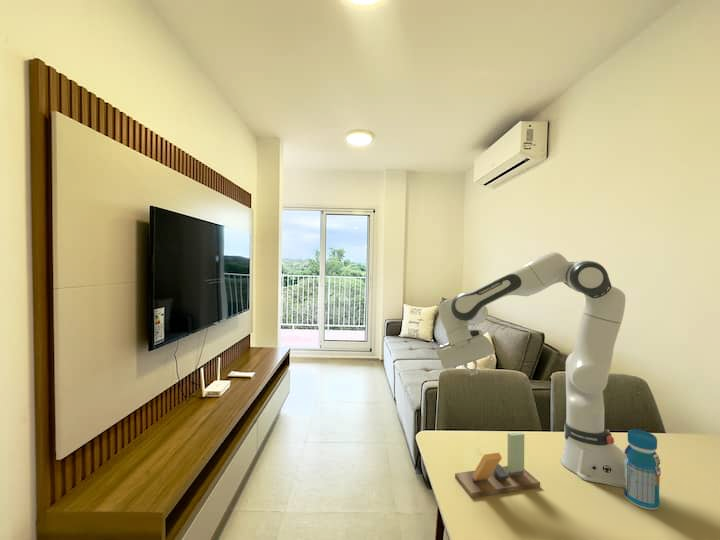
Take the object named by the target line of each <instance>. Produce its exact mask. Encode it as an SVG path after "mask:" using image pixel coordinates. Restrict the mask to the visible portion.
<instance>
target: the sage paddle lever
mask: <svg viewBox="0 0 720 540" xmlns="http://www.w3.org/2000/svg"><path fill="white" fill-rule="evenodd" d="M524 469H525V434H524V432H522V431H516V432H507V470H508V475H509V476H511V475H517V474H524Z"/></svg>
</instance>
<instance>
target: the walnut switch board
mask: <svg viewBox="0 0 720 540" xmlns="http://www.w3.org/2000/svg"><path fill="white" fill-rule="evenodd" d="M507 466H508V465H507ZM507 466H506V465H505V466H501V467H502V468H503V469H504V470H505V472H506V473H507V474H508V470H507ZM474 471H475V470H468V471H463V472H455V473H454V478H455V480H456V481H457V482H458V483H459V485H460V486H461V487H462V488H463V490H464V491H465V492H466V494H467V495H468V496H469V497H470V498H471V499H472V498H480V497H486V496H492V495H498V494H506V493H511V492H512V493H513V492H518V491H524V490H530V489H536V488H540V487H541V482H540V481H539V480H538V479H536V478H535V477H534V476H533V474H531V473H530V472H529V471H527V470H526V469H525V468H524V474H517V475H511V476H509V478H508V479H501V480H500V479H499V478H495V477H494V475H493V473H492V474H491V476H490V477H489V478H488V479H483V480H476V481H472V477H473V473H474Z"/></svg>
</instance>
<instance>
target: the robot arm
mask: <svg viewBox="0 0 720 540" xmlns="http://www.w3.org/2000/svg"><path fill="white" fill-rule="evenodd" d="M559 283H563V284H565V285H566V286H567V287H568V288H570V289H572V290H574V291H576V292H577V293H581V294H584V296H585V305H584V308H583V311H582V314H581V318H580V321H579V324H578V327H577V331H576V334H575V341H574V346H573V350H572V352H571V353H570V354H568V355H567V357H566V360H565V395H566V396H565V397H566V398H565V399H566V400H565V401H566V404H565V405H566V406H565V407H566V420H565V422H564V430H563V431H564V433H563V434H564V439H565V440H564V446H563V452H562V453H561V458H560V463H561V464H562V465H563V466H564V467H565V468H566V469H568V470H569V471H571V472H573V473H574V474H575V475H577V476H578V477H579V478H580V479H582V480H584V481H587V482H594V483H597V484H603V485H608V486H614V487H617V488H623V489H625V465H624V458H625V457H626V456H625V453H624V452H625V450H623V449H621V448H620V447H618V446H617V444H615V439H614V437H613V436H612V433H611V432H610V429H606V428H605V403H604V402H605V401H604V400H605V399H604V390H605V389H607V388H606V387H607V385H608V380H609V375H610V371H611V366H612V360H613V356H614V349H615V344H616V341H617V338H618V335H619V331H620V329H621V325H622V322H623V318H624V315H625V314H624V313H625V309H626V295H625V293H624V291H622V290H621V289H620V288H618V287H616V286H612V283H611V280H610V278H609V274H608V271H607V270H606V268H605V267H604V266H603V265H602V264H600V263H599V262H596V261H592V260H579V261H568V260H567V259H566V257H565V256H564V255H562V254H561V253H558V252H556V251H552V252H548V253H545V254H543V255H540V256H538V257H536V258H534V259H531V261H529V262H527V263H525V264H524V265H522V266H520V267H519V268H516V269H515V270H514V271H512V272H510V273H507V274H506V275H504V276H501V277H499V278H497V279H495V280H493V281H492V282H490V283H488V284H486V285H484V286H482V287H480V288H478V289H475V290H473V291H469V292H468V291H467V292H462V293H461V292H460V293H459V294H457V295H456V296H454V298H448V299H446V300H444V301H442V302H440V305H438V309H437V310H438V313H439V314H438V315H439V317H440V321H441V324H442V326H443V328H444V330H445V332H446V333H445V334H446V337H447V339H448V343H444V344H442V345H439V346H438V348H437V349H436V354H437V357H438V358H440V363H441V365H442V368H443V370H445V371H447V370H448V371H449V370H452V369H454V368H457V367H460V366H463V368H464V369H466V370H467V371H468V373H469V374H470V376H473V375H477V374H479V371H478V369H477V368H478V360H482V359H485V358H488V357H491V356H494V355H495V353H496V351H495V348H494V346H493V345H492V343H491V341H490V340H489V338H488V337H487V336H486V335H484V331H482V330H481V329H469V326H474V325H478V324H482V323H483V322H484V321H485V320H486V319H487V317H488V314H489V313H488V308H487V306H489V304H491V303H493V302H495V301H497V300H499V299H502V298H504V297H507V296H521V297H529V296H530V297H531V296H533V295H536V294H538V293H539V292H540V293H541V292H542V291H544V290H545V289H547V288H549V287H551V286H553V285H556V284H559ZM469 363H473V365H474V368H471V369H470V368H469V367H468V366H469V365H468V364H469Z"/></svg>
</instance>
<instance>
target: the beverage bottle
mask: <svg viewBox="0 0 720 540" xmlns="http://www.w3.org/2000/svg"><path fill="white" fill-rule="evenodd" d="M627 442H628V445H627V446H626V447H625V450H624V453H625V456H626V457H625V458H624V465H625V488H623V489H624V492H623V494H624V497H625V499H626V500H627V501H629V502H630V503H631V504H633V505H634V506H636V507H639V508H641V509H645V510H649V511H654V510H655V511H656V510H658V509H659V508H660V505H661V502H660V478H661V474H662V471H661V468H660V464H661V459H660V457H659V455H658V453H657V452H656V450H657V449H658V437H656V435H654V434H653V433H650V432H648V431H645V430H640V429H629V430H628V431H627Z"/></svg>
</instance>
